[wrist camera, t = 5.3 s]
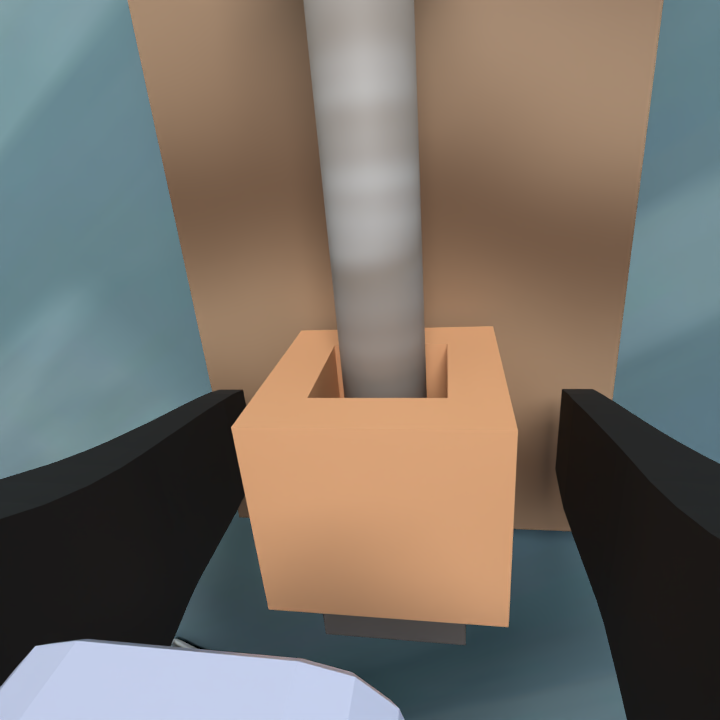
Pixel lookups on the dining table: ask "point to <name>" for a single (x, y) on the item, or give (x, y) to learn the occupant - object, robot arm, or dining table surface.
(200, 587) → the dining table surface
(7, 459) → the dining table surface
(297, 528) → the slider
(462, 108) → the rail
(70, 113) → the dining table surface
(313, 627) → the dining table surface
